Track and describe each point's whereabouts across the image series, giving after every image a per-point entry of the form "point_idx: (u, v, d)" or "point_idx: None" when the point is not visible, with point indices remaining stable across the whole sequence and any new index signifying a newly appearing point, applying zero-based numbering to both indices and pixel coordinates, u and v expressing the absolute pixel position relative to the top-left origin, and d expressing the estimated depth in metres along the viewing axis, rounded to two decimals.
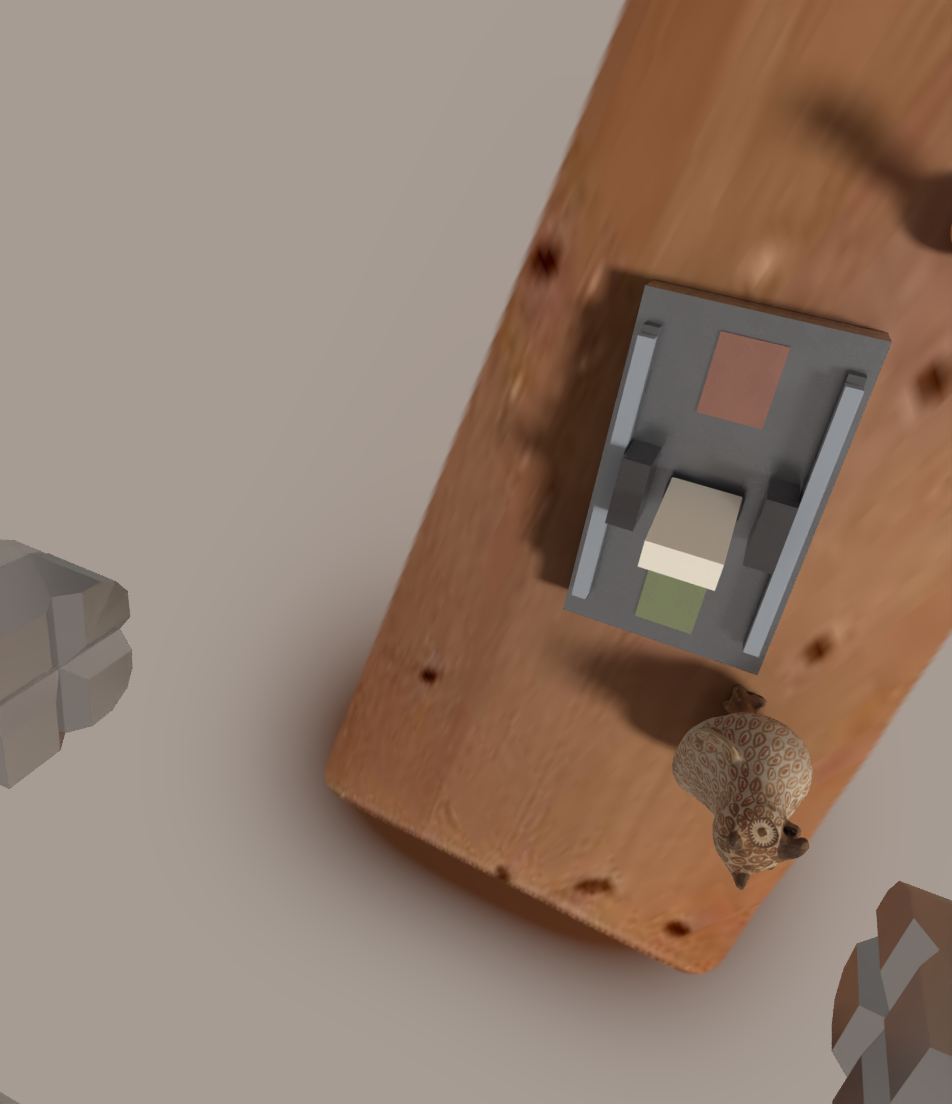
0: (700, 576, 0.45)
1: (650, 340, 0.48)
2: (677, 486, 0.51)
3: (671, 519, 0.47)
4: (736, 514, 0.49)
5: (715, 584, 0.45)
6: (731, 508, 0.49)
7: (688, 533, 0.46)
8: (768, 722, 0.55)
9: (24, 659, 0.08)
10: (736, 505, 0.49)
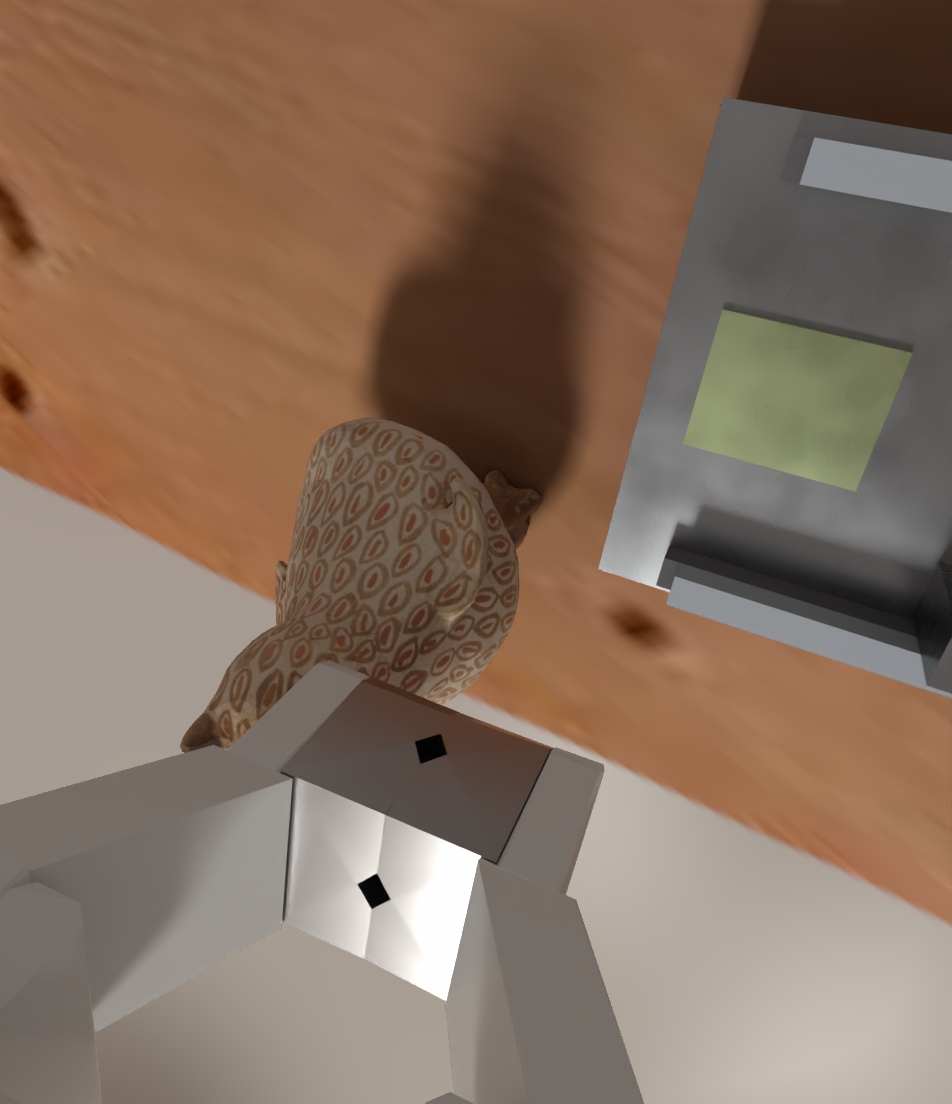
0: None
1: None
2: None
3: None
4: None
5: None
6: None
7: None
8: (514, 612, 0.27)
9: None
10: None
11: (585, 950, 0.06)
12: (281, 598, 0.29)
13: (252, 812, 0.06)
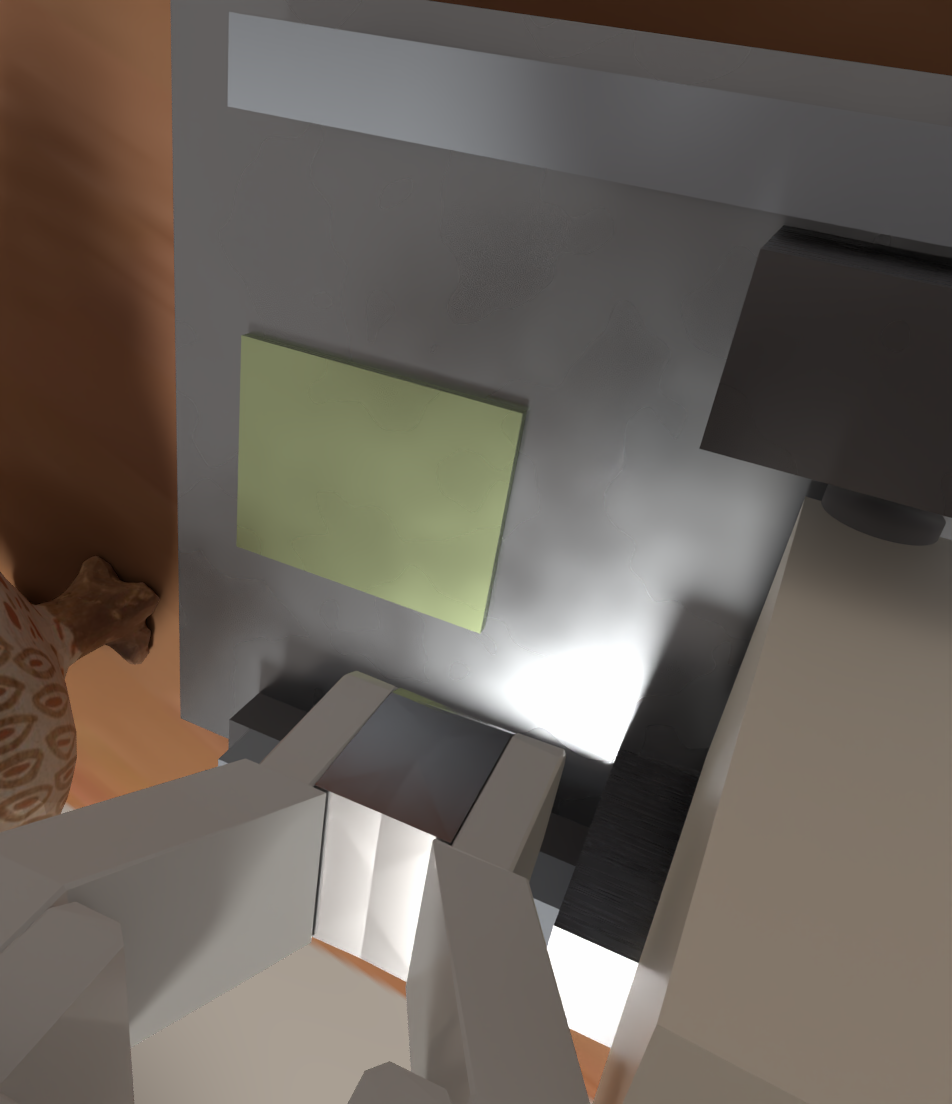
0: None
1: None
2: None
3: None
4: None
5: None
6: None
7: None
8: (44, 786, 0.18)
9: None
10: None
11: (533, 927, 0.06)
12: None
13: (286, 828, 0.06)
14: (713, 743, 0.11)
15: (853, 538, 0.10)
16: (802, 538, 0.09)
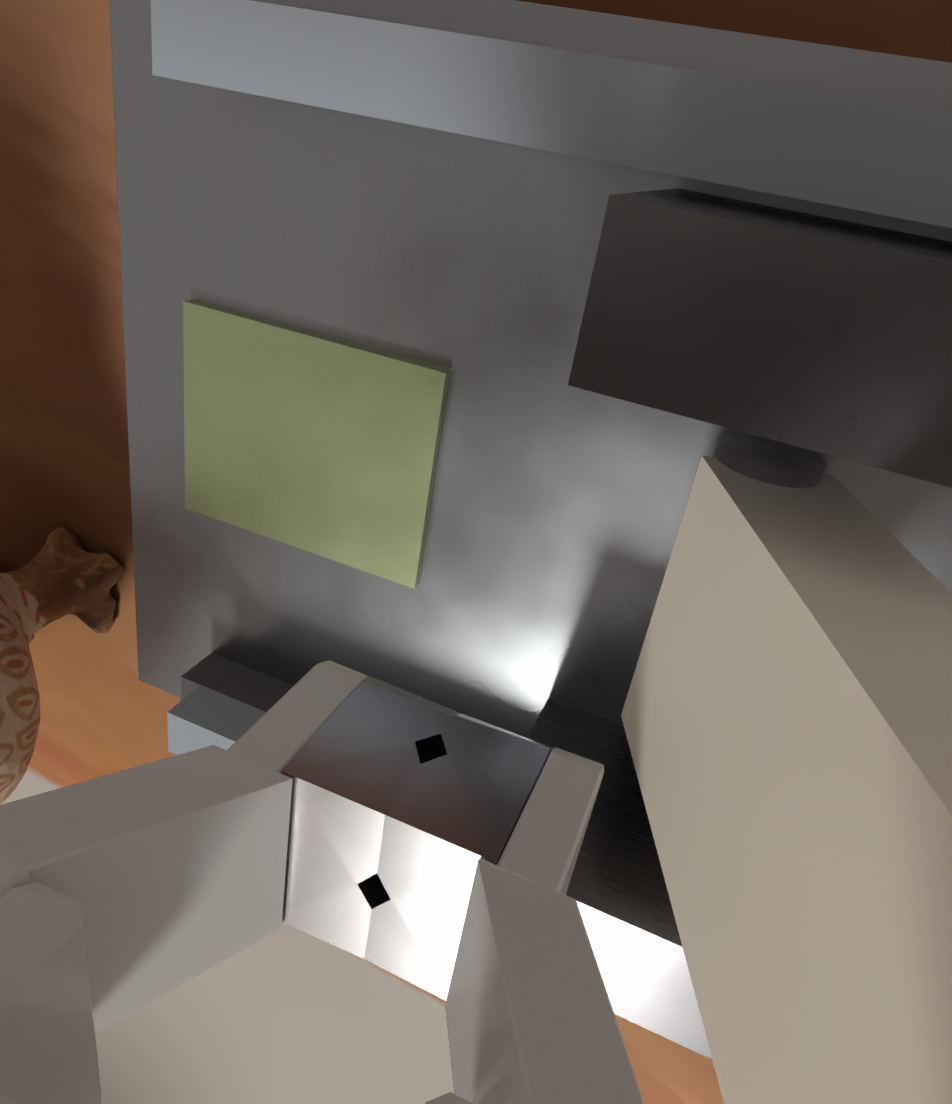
0: None
1: None
2: None
3: None
4: None
5: None
6: None
7: None
8: (6, 745, 0.19)
9: None
10: None
11: (585, 950, 0.06)
12: None
13: (252, 812, 0.06)
14: (649, 707, 0.12)
15: (772, 492, 0.10)
16: (742, 502, 0.10)
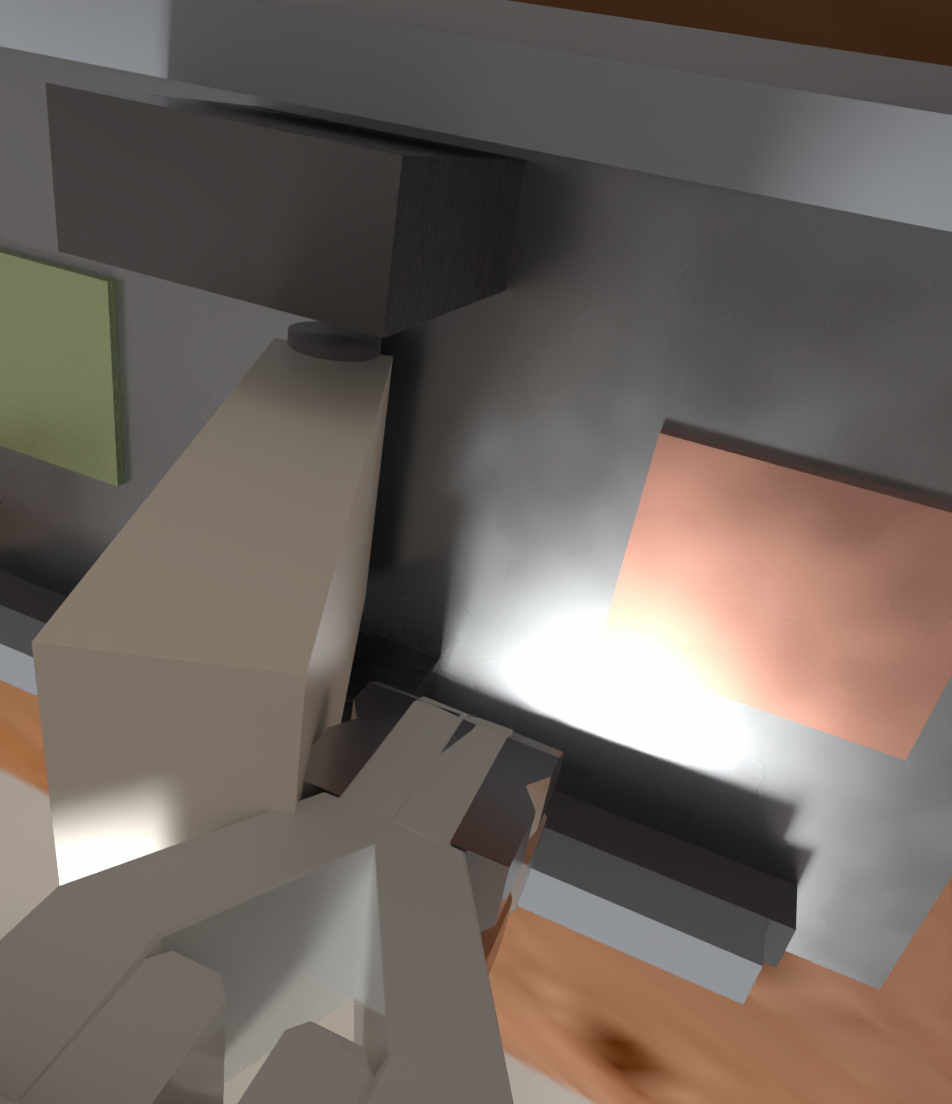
0: None
1: None
2: (384, 409, 0.12)
3: (347, 574, 0.09)
4: (349, 671, 0.13)
5: None
6: (356, 633, 0.13)
7: (326, 718, 0.08)
8: None
9: (516, 868, 0.07)
10: (358, 627, 0.13)
11: (464, 897, 0.06)
12: None
13: (370, 865, 0.06)
14: None
15: (306, 362, 0.12)
16: (260, 365, 0.11)
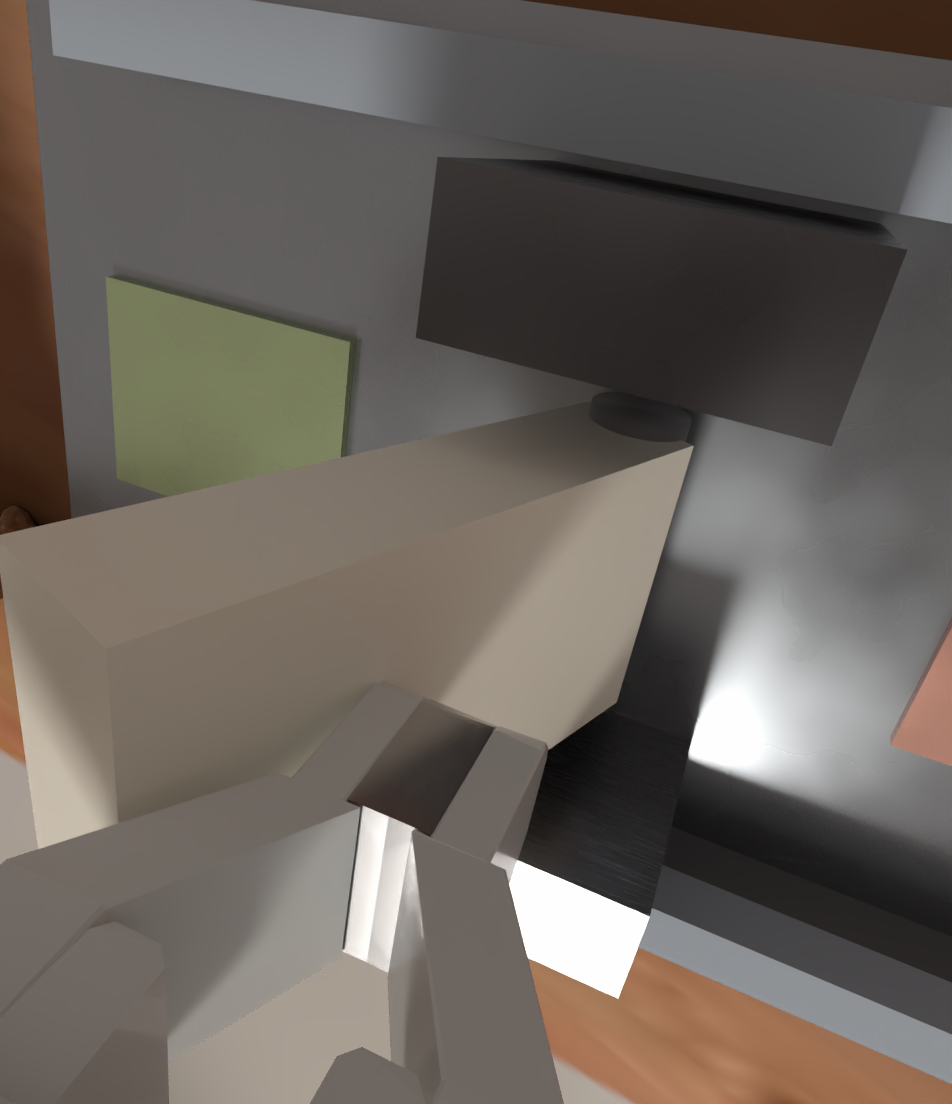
0: None
1: None
2: (644, 496, 0.11)
3: (410, 622, 0.08)
4: None
5: None
6: (555, 726, 0.12)
7: None
8: None
9: None
10: (572, 725, 0.12)
11: (509, 916, 0.06)
12: None
13: (320, 843, 0.06)
14: None
15: (583, 426, 0.11)
16: (530, 418, 0.11)
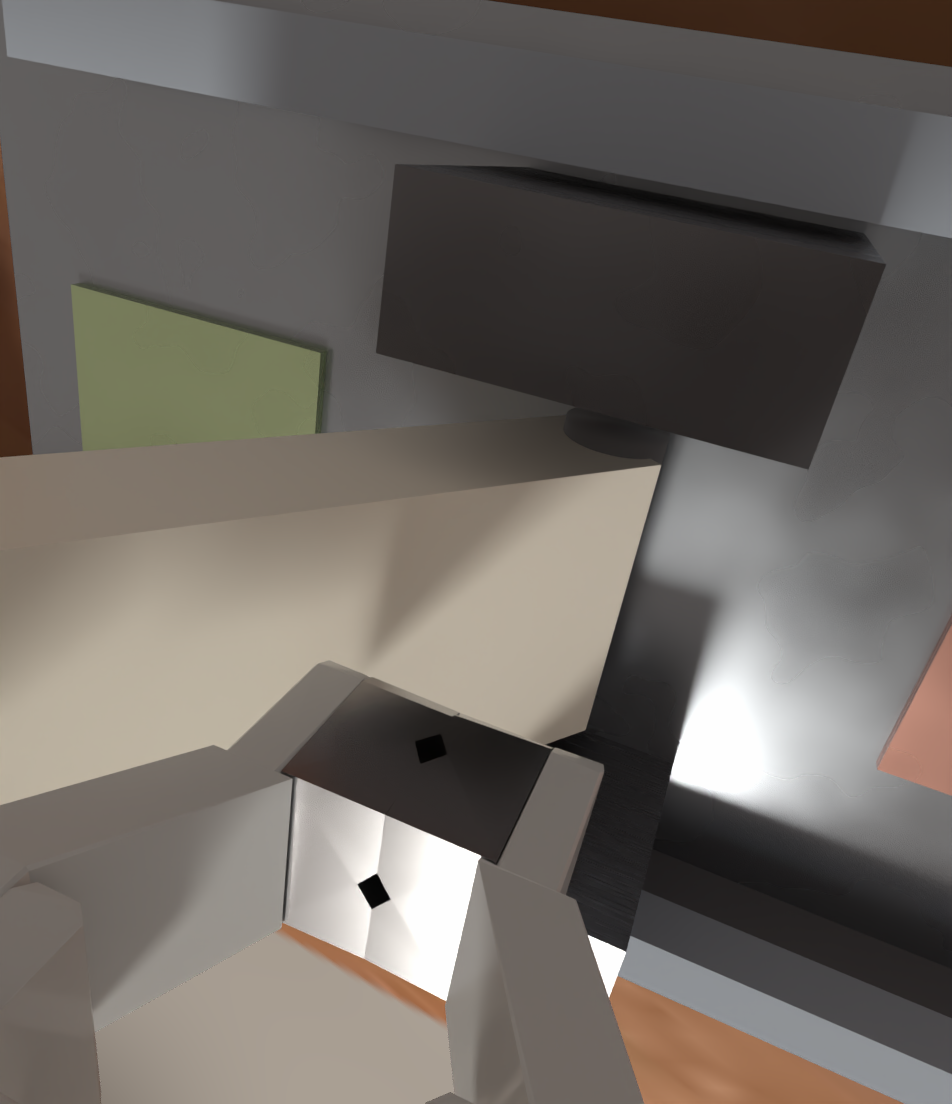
0: None
1: None
2: (593, 510, 0.10)
3: (277, 596, 0.08)
4: None
5: None
6: None
7: (183, 711, 0.08)
8: None
9: None
10: None
11: (586, 950, 0.06)
12: None
13: (252, 812, 0.06)
14: None
15: (548, 435, 0.11)
16: (494, 423, 0.11)
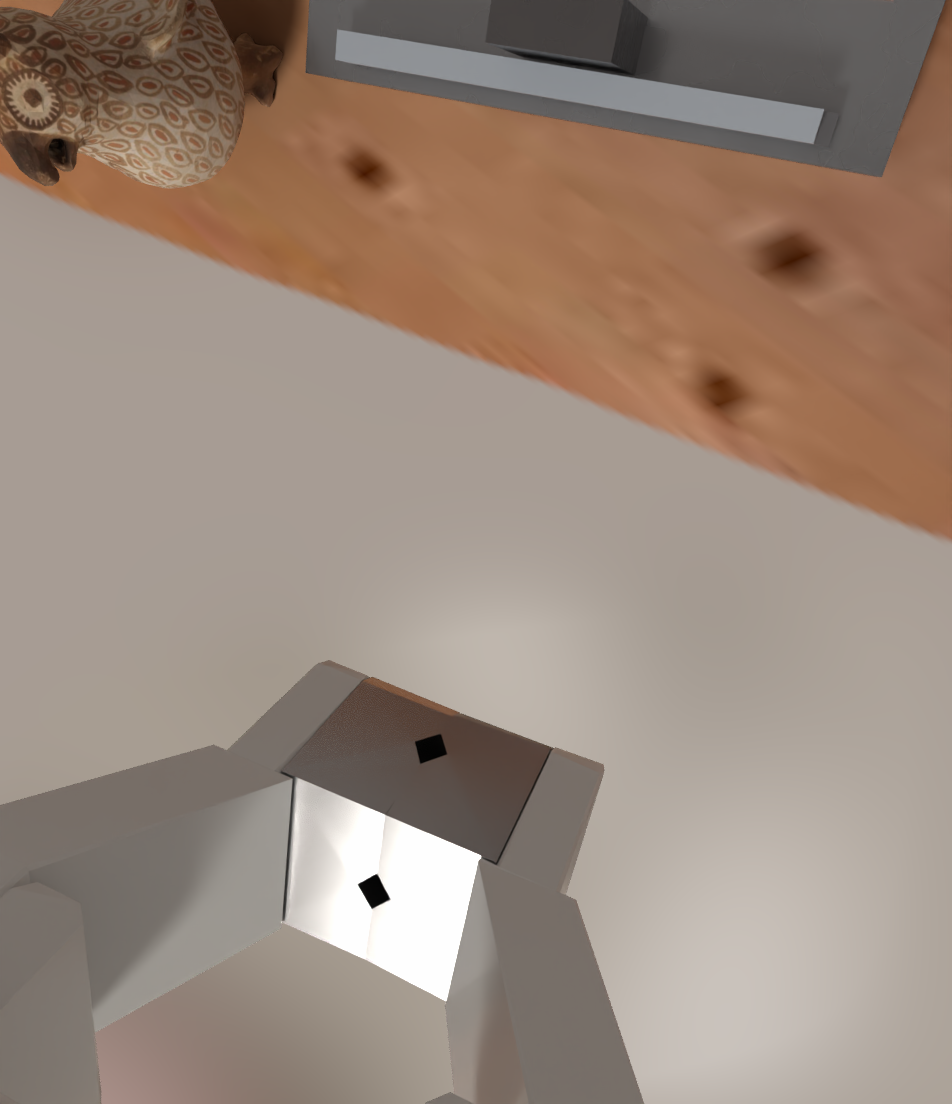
0: None
1: None
2: None
3: None
4: None
5: None
6: None
7: None
8: (234, 101, 0.34)
9: None
10: None
11: (585, 950, 0.06)
12: None
13: (252, 812, 0.06)
14: None
15: None
16: None
